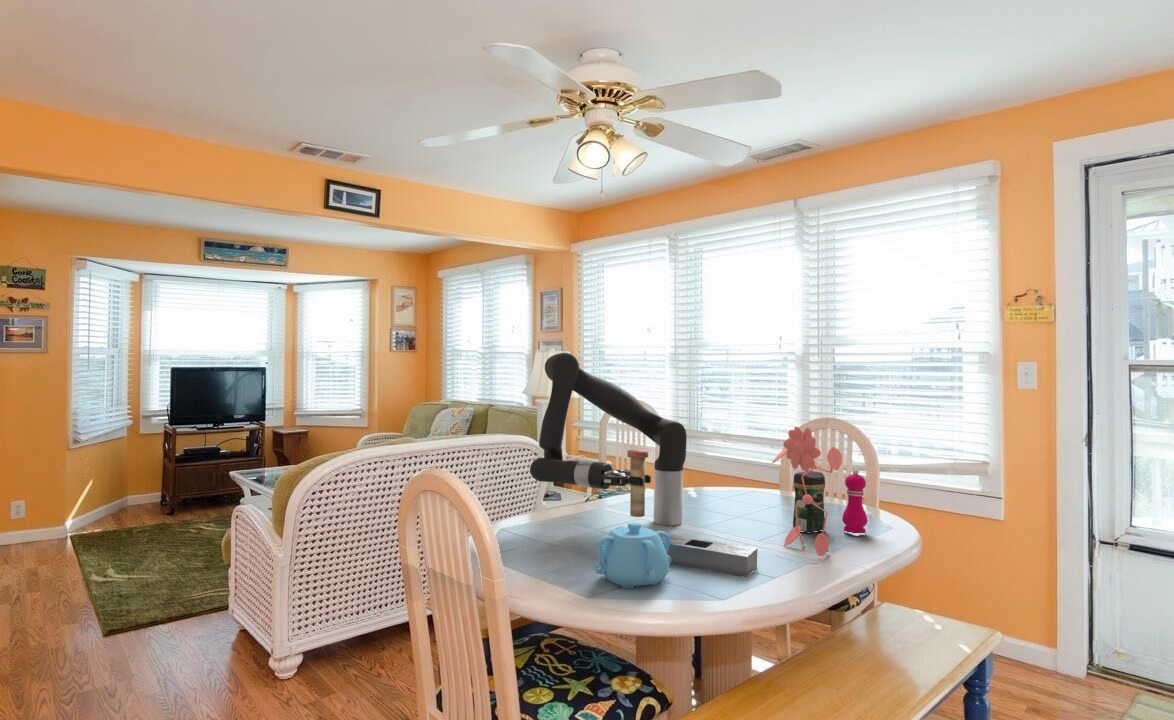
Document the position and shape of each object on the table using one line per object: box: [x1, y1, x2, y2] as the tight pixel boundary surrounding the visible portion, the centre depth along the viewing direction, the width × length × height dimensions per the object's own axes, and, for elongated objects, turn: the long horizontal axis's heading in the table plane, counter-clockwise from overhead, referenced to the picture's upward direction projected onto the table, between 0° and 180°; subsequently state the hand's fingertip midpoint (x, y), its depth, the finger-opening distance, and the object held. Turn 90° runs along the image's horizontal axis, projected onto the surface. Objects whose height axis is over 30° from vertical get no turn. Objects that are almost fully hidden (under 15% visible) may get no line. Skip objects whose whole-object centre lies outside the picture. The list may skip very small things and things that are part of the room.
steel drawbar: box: [659, 533, 758, 578], centre depth 170 cm, size 9×28×5 cm, turn 60°
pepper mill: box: [841, 468, 868, 534], centre depth 204 cm, size 7×7×20 cm
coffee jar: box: [792, 470, 826, 533], centre depth 207 cm, size 10×8×19 cm
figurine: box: [771, 426, 843, 557], centre depth 181 cm, size 15×26×35 cm, turn 27°
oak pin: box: [627, 449, 649, 518], centre depth 184 cm, size 6×6×18 cm
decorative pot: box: [594, 522, 671, 589], centre depth 155 cm, size 16×16×14 cm
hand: (646, 480), depth 183 cm, fingers closed on oak pin, 4 cm apart
